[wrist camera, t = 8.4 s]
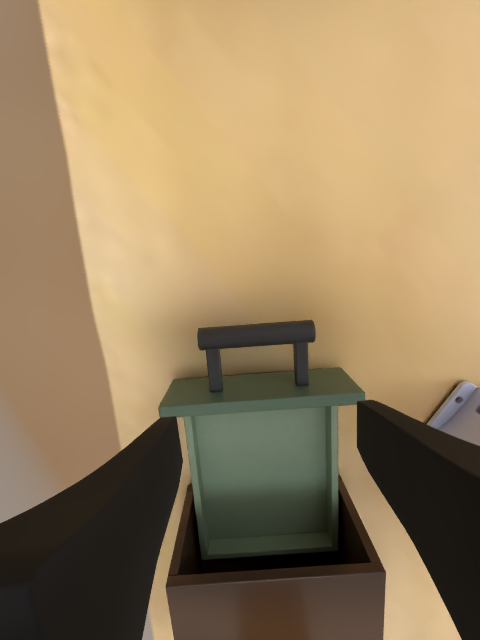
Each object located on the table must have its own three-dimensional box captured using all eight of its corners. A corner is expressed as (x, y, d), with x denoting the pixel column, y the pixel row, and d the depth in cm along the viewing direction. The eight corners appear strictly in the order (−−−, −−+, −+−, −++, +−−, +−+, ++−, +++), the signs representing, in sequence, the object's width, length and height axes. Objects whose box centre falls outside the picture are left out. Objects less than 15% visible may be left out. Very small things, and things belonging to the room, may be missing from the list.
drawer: (165, 323, 20) (148, 339, 16) (341, 310, 20) (366, 323, 16) (192, 532, 24) (183, 588, 20) (341, 522, 24) (362, 576, 20)
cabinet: (187, 485, 23) (165, 587, 16) (339, 474, 23) (386, 572, 16) (204, 615, 26) (192, 752, 19) (339, 606, 26) (379, 741, 19)
